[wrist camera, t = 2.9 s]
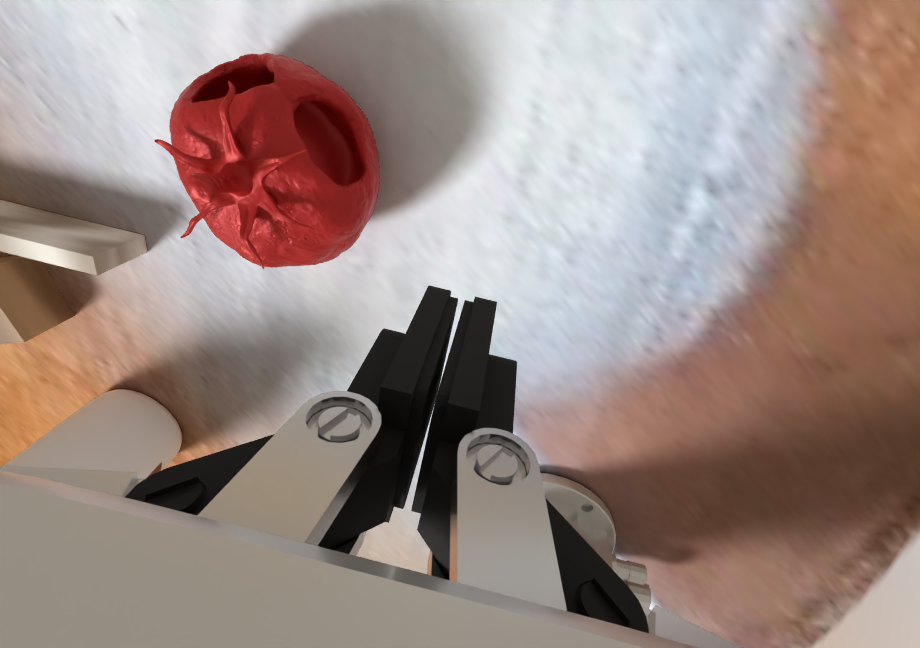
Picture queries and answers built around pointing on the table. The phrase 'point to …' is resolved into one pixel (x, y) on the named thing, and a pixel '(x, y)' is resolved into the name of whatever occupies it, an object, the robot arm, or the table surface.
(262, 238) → the pomegranate
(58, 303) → the teak block
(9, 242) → the display stand
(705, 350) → the table surface
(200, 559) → the robot arm
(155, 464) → the milk bottle
